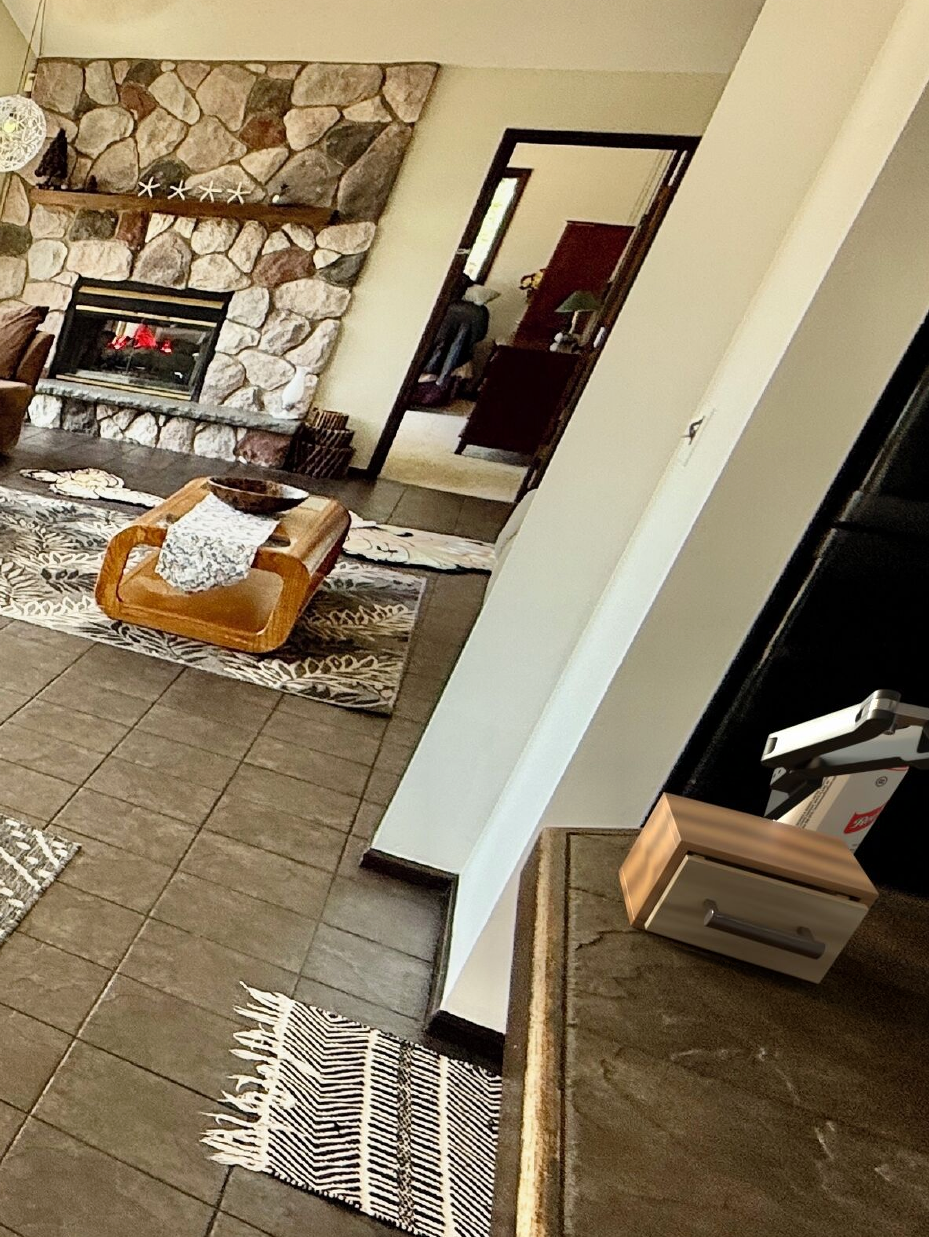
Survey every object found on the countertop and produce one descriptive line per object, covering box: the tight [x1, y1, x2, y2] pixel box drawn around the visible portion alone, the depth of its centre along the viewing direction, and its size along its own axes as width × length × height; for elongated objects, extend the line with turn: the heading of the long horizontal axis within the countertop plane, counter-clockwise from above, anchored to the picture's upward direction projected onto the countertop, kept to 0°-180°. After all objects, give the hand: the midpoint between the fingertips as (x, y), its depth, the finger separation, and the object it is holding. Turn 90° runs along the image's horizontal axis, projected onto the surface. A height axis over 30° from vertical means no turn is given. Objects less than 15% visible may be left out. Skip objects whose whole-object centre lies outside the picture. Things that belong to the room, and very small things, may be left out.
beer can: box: [772, 766, 910, 855], centre depth 122 cm, size 6×6×16 cm
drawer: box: [645, 850, 870, 984], centre depth 109 cm, size 18×11×8 cm, turn 139°
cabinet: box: [618, 792, 880, 985], centre depth 112 cm, size 15×13×10 cm
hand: (879, 831), depth 90 cm, fingers open, 11 cm apart
